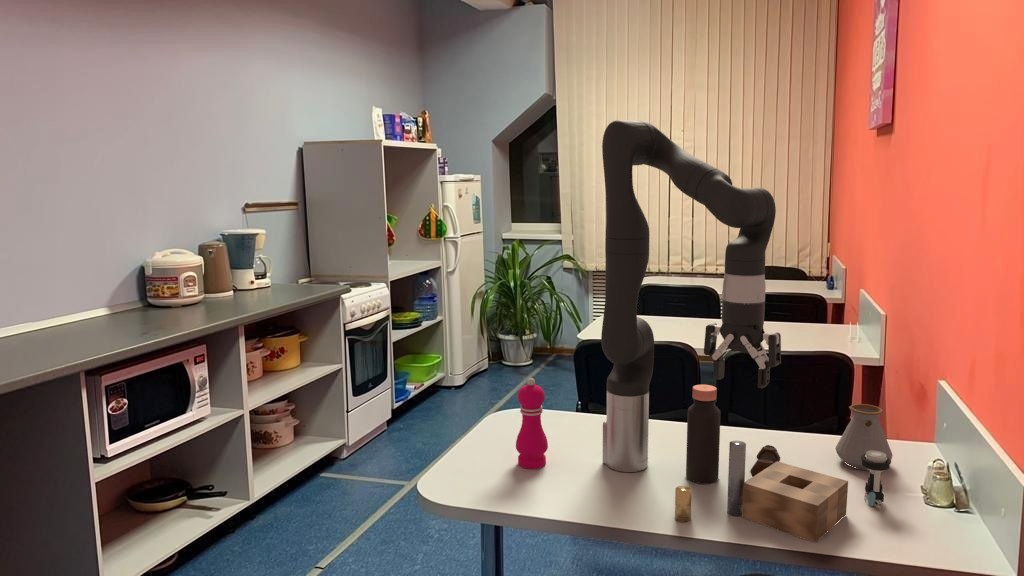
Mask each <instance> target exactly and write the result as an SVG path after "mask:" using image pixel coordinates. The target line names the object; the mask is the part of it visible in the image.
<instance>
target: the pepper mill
mask: <svg viewBox="0 0 1024 576" xmlns="http://www.w3.org/2000/svg"><path fill="white" fill-rule="evenodd" d="M526 382H527V384H525V385H522V386H521V388H520V389H519V390H518V393H517V400H518V403H519V404H520V406H519V407H520V410H519V411H520V414H521V416H522V421H521V426H520V430H519V431H518V434H517V437H516V440H515V449H516V451H517V452H518V454H519V455H517V463H518V466H519V467H520V468H523V469H525V470H538V469H541V468H543V467H546V466H545V465H546V464H547V456H546V455H545V454H546V452H547V451H548V449H549V446H548V445H549V444H548V438H547V435H546V433H545V431H544V428H543V424H542V420H541V417H542V413H543V411H544V410H543V405H542V404H543V403H544V402H545V399H546V396H545V394H546V393H545V391H544V390H543V388H542V387H541V386H540V385H537V384H536V379H534V378H533V377H529V378H528V379H527V381H526Z"/></svg>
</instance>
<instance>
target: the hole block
mask: <svg viewBox="0 0 1024 576" xmlns="http://www.w3.org/2000/svg"><path fill="white" fill-rule="evenodd" d="M848 489H849V480H846V479H842V478H839V477H835V476H832V475H828V474H824V473H821V472H817V471H814V470H810V469H806V468H803V467H799V466H796V465H792V464H788V463H784V462H781V461H779V462H778V461H777V462H775V463H774V464H772V465H771V466H769V467H768V468H766V469H764V470H763V471H761V472H760V473H758V474H757V475H755V476H754V477H751V478H749V479H747V480H746V481H745V482H744V487H743V512H742V516H741V517H742V519H745V520H748V521H751V520H752V521H751V522H753V521H754V523H756V522H758V523H757V524H759V523H760V524H759V525H762V524H763V526H765V525H766V526H765V527H768V526H769V528H771V527H772V529H773V530H777V529H778V530H777V531H781V532H783V533H787V534H789V535H792V536H795V537H797V538H800V537H801V539H803V538H804V539H803V540H806V539H807V540H806V541H809V542H812V543H815V542H816V543H818V541H819V540H821V539H822V538H823V537H824V536H825V535H826V534H827V533H828V532H829V531H831V530H832V529H833V528H834V527H835V526H836V525H837V524H838V523H839V522H838V521H839V520H840V519H841V518H842V517H844V516H845V515H846V516H847V505H848V503H847V502H848V493H849V492H848V491H849V490H848ZM846 516H845V517H846ZM845 517H844V518H845ZM837 522H838V523H837ZM836 523H837V524H836ZM835 524H836V525H835ZM834 525H835V526H834ZM833 526H834V527H833ZM832 527H833V528H832ZM831 528H832V529H831ZM830 529H831V530H830ZM827 531H828V532H827ZM825 533H826V534H825ZM824 534H825V535H824ZM823 535H824V536H823ZM822 536H823V537H822ZM821 537H822V538H821Z"/></svg>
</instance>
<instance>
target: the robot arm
mask: <svg viewBox="0 0 1024 576" xmlns="http://www.w3.org/2000/svg"><path fill="white" fill-rule="evenodd" d="M601 143H602V145H601V149H602V151H601V152H602V165H603V175H604V176H603V177H604V185H605V186H604V187H605V245H604V246H605V247H604V249H605V250H604V251H605V254H604V256H605V279H604V280H605V283H604V284H605V285H604V287H605V290H604V291H605V293H604V294H605V296H604V297H605V298H604V309H603V316H602V318H603V319H602V327H601V336H600V343H601V348H602V352H603V353H604V356H605V357H606V358H607V360H608V361H610V362H611V363H612V364H613V368H612V370H611V371H610V373H609V375H608V376H607V378H606V420H605V421H603V423H602V463H603V464H605V465H606V466H607V467H608V468H609V469H612V470H614V471H616V472H617V471H618V472H623V473H637V472H641V471H643V470H645V469H647V468H648V464H649V460H648V459H649V422H650V421H649V420H650V419H649V413H650V410H649V409H650V384H651V381H652V377H653V374H654V373H653V372H654V360H655V359H654V356H655V336H654V331H653V329H652V327H651V325H650V324H649V323H648V321H646V320H645V319H643V318H641V317H639V316H637V315H638V312H637V311H638V299H639V294H640V292H641V287H642V284H643V282H644V279H645V275H646V273H647V269H648V266H649V265H648V264H649V260H650V228H649V223H648V221H647V220H648V219H647V218H646V215H645V213H644V212H643V209H642V208H641V206H640V204H639V203H640V202H638V199H637V197H636V193H635V191H634V190H635V189H634V185H633V184H634V182H633V166H642V165H645V166H648V167H649V166H650V167H652V168H655V169H658V170H660V171H662V172H663V173H664V174H666V175H667V176H668V177H669V178H670V180H671V181H672V184H674V185H673V186H675V187H676V188H677V189H678V190H679V191H680V192H682V194H685V195H686V196H687V197H689V198H691V199H692V200H693V201H696V202H698V203H700V204H701V205H703V206H705V208H706V210H708V211H709V212H710V213H711V214H712V215H713V216H714V218H715V219H717V221H719V223H722V224H723V225H725V226H727V227H729V228H730V227H731V228H733V229H739V230H738V231H739V232H738V235H737V237H736V238H735V239H733V240H732V241H730V242H729V243H728V244H727V245H726V246H725V247H726V248H725V253H724V277H723V282H722V291H721V295H722V297H721V298H722V299H721V321H722V322H721V325H718V324H717V323H716V322H713V323H710V324H707V325H706V326H705V332H704V333H705V335H704V344H703V345H704V347H703V354H704V355H705V356H708V357H710V358H711V359H712V361H713V367H712V368H713V369H712V374H713V376H714V378H715V380H719V381H720V380H722V379H724V377H725V369H726V368H725V365H726V364H725V362H726V360H725V358H724V357H725V356H726V355H727V353H729V352H730V351H731V352H740V353H742V354H749V355H750V356H751V358H752V359H753V360H754V361H755V363H756V364H757V365H758V367H759V368H757V370H758V371H757V388H758V389H764V388H766V387H767V386H768V385H769V383H770V378H771V368H775V367H778V366H779V365H781V364H782V344H781V343H782V341H781V340H782V338H781V337H782V335H781V333H780V332H774V333H771V332H769V333H768V332H765V330H764V324H765V311H766V310H765V309H766V307H765V305H766V276H765V274H766V273H765V272H766V250H767V247H768V244H769V242H770V238H771V236H772V231H773V228H774V225H775V220H776V214H777V212H776V211H777V209H776V207H777V206H776V202H775V199H774V196H773V195H772V194H771V192H770V191H769V190H767V189H765V188H762V187H746V188H743V187H742V188H740V187H738V186H734V185H733V181H732V179H731V177H730V176H729V175H728V174H727V173H725V172H724V171H722V170H720V169H719V168H716V167H715V166H713V165H711V164H709V163H707V162H705V161H704V160H701V159H699V158H698V157H696V156H694V155H693V154H691V153H689V152H688V151H686V150H685V149H683V148H682V147H681V146H679V145H678V144H677V143H675V142H674V141H673V140H672V139H670V138H669V137H668V136H667V135H666V134H664V132H663V131H661V130H660V129H659V128H658V127H656V126H655V125H653V124H652V123H651V122H648V121H645V120H631V119H629V120H628V119H618V120H613V121H612V122H610V123H609V124H608V125H607V126H606V128H605V130H604V132H603V136H602V142H601ZM719 334H720V335H721V338H722V339H723V340H722V342H721V343H720V344H719V346H718V347H717V340H718V339H717V338H718V336H719ZM763 341H765V344H766V345H767V346H768V347H767V348H768V355H767V351H766V349H765V347H764V346H763V344H762V343H763Z"/></svg>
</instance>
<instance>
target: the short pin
mask: <svg viewBox="0 0 1024 576" xmlns="http://www.w3.org/2000/svg"><path fill="white" fill-rule="evenodd" d="M692 494H693V489H692V488H691V487H689V486H687V485H678V486H676V487H675V494H674V495H675V496H674V499H675V500H674V502H675V503H674V520H675V521H676V522H677V523H678V522H679V523H681V524H682V523H683V524H685V523H686V524H687V523H689V522H691V521H692V500H693V498H692V497H693V496H692Z"/></svg>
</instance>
